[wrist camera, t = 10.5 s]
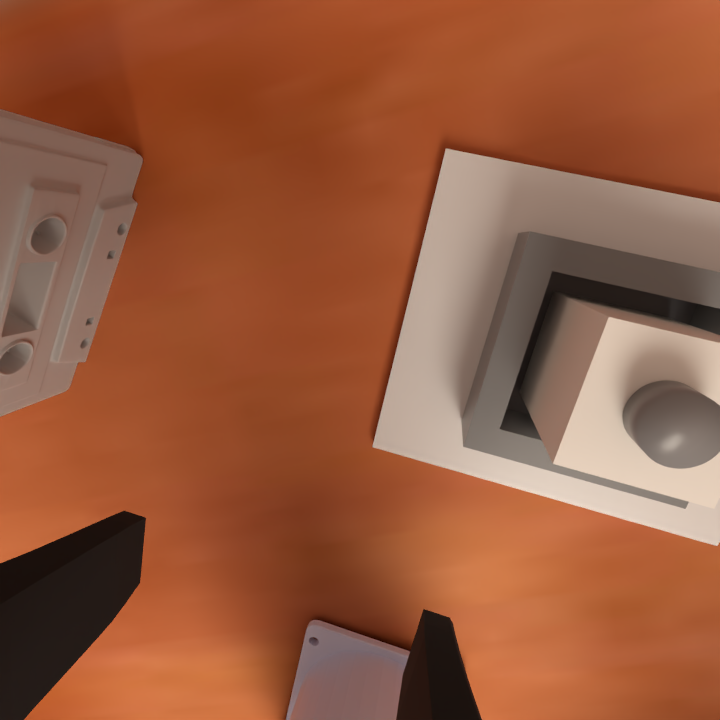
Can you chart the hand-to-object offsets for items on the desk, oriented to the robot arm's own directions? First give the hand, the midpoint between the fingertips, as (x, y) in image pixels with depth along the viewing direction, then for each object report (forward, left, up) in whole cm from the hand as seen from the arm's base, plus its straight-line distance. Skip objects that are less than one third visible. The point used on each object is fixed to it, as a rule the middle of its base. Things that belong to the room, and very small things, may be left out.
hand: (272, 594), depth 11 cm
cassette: (+4, +13, -10) cm, 17 cm away
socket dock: (+6, -8, -9) cm, 14 cm away
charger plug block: (+6, -8, -9) cm, 13 cm away
